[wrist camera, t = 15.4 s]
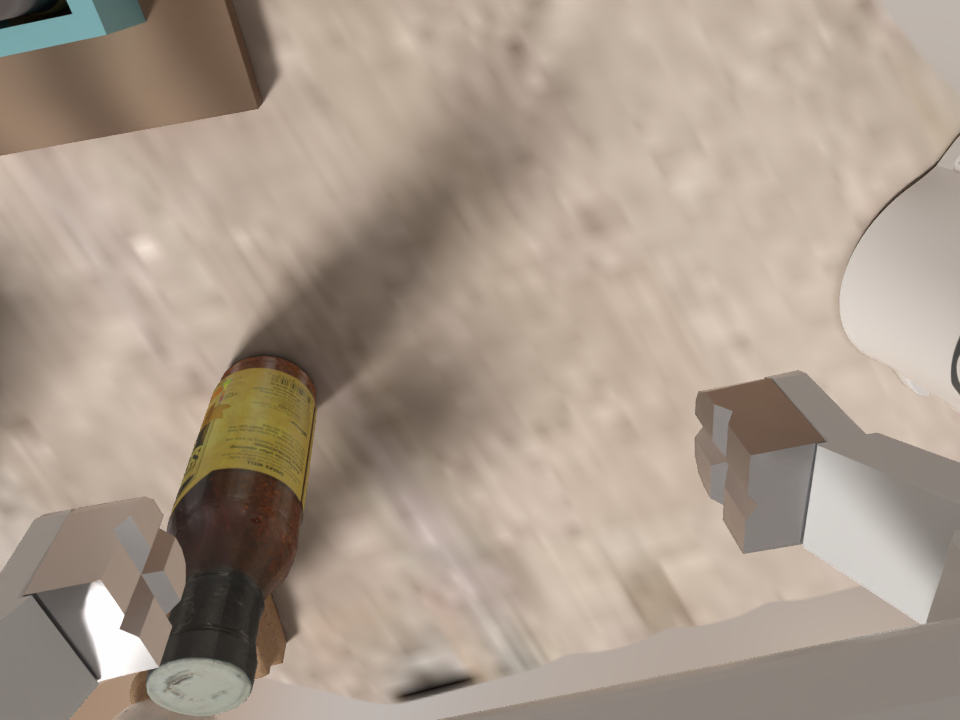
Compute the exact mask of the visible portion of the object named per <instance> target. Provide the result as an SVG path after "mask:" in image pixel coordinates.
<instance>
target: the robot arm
mask: <svg viewBox="0 0 960 720" xmlns="http://www.w3.org/2000/svg"><path fill="white" fill-rule="evenodd" d="M840 315H841V321H842V324H843V327H844V330H845V332H846V334H847V336H848V338H849V339H850V341H851V342H852V343H853V345H854V346H855V347H856V348H857V349H858V350H860V351H861V352H862V353H863V354H865V355H866V356H868V357H870V358H872V359H874V360H876V361H878V362H881V363H883V364H885V365H886V366H888V367H890V368H892V369H894V370H895V372H896V373H897V375H898V376H899V378H900V379H901V381H902V382H903V383H904V384H905V385H906V386H907V387H908V388H910V389H911V390H913V391H914V392H916V393H917V394H919V395H923V396H927V395H931V394H932V395H933V396H935V397H936V398H938V399H939V400H941V401H942V402H944V403H945V404H947V405H949V406H950V407H952V408H953V409H955V410H956V411H958V412H959V413H960V136H959V137H958V138H957V139H956V140H955V142H954V143H953V144H952V145H951V147H950V148H949V149H948V151H947V152H946V153H945V155H944V156H943V157H942V159H941V160H940V161H939V163H938V164H937V165H936V166H935V167H934V168H933V169H932V170H931V171H930V172H929V173H928V174H926V175H925V176H924V177H923V178H922V179H920V180H919V181H918V182H916V183H915V184H914V185H912V186H911V187H910V188H908V189H907V190H906V191H904V192H903V193H902V194H901V195H900V196H898V197H897V198H896V199H895V200H894V201H893V202H892V203H891V204H889V205H888V206H887V207H886V208H885V210H884V211H883V212H882V213H881V214H880V215H879V216H878V217H877V218H876V219H875V221H874V222H873V223H872V224H871V226H870V227H869V228H868V229H867V231H866V232H865V234H864V235H863V237H862V238H861V240H860V241H859V243H858V245H857V246H856V248H855V250H854V252H853V254H852V256H851V258H850V260H849V263H848V265H847V268H846V271H845V274H844V277H843V281H842V285H841V291H840ZM695 415H696V416H697V418H698V419H699V421H700V422H701V424H702V426H703V427H702V429H701V430H700V431H699V433H698V434H697V435H696V437H695V458H696V463H697V468H698V473H699V475H700V478H701V480H702V483H703V486H704V487H705V489H706V491H707V493H708V495H709V496H710V498H711V499H713V500H715V501H717V502H719V503H721V504H723V505H724V507H723V521H724V522H725V524H726V526H727V528H728V529H729V531H730V533H731V534H732V536H733V538H734V539H735V541H736V543H737V545H738V546H739V548H740V550H741V551H742V553H743V554H746V553H752V552H758V551H764V550H770V549H776V548H782V547H788V546H794V545H800V544H803V548H805V549H807V550H808V551H810V552H811V553H813V554H814V555H816V556H817V557H819V558H820V559H822V560H823V561H825V562H826V563H828V564H829V565H831V566H833V567H834V568H836V569H837V570H839V571H840V572H842V573H843V574H845V575H846V576H848V577H849V578H851V579H852V580H854V581H856V582H857V583H859V584H860V585H862V586H863V587H865V588H866V589H868V590H869V591H871V592H872V593H874V594H876V595H877V596H879V597H880V598H882V599H883V600H885V601H886V602H888V603H890V604H891V605H892V606H894V607H895V608H897V609H899V610H900V611H901V612H903V613H905V614H906V615H908V616H909V617H911V618H912V619H914V620H915V621H917V622H918V623H920V624H921V625H917V626H912V627H907V628H902V629H897V630H891V631H886V632H881V633H876V634H871V635H866V636H861V637H856V638H850V639H846V640H840V641H836V642H831V643H825V644H820V645H815V646H810V647H805V648H800V649H794V650H789V651H784V652H779V653H774V654H769V655H764V656H759V657H754V658H749V659H744V660H738V661H734V662H728V663H724V664H718V665H713V666H708V667H703V668H698V669H693V670H688V671H683V672H677V673H672V674H667V675H662V676H657V677H652V678H647V679H642V680H637V681H632V682H627V683H622V684H617V685H611V686H607V687H601V688H597V689H591V690H586V691H581V692H576V693H571V694H566V695H561V696H556V697H551V698H546V699H540V700H535V701H530V702H525V703H521V704H515V705H510V706H505V707H500V708H495V709H490V710H485V711H480V712H474V713H469V714H464V715H459V716H454V717H449V718H444V719H439V720H960V463H959V462H956V461H953V460H950V459H948V458H945V457H942V456H940V455H937V454H934V453H931V452H929V451H926V450H923V449H920V448H918V447H915V446H912V445H909V444H907V443H904V442H901V441H898V440H896V439H893V438H890V437H888V436H885V435H882V434H879V433H873V434H866V433H865V432H864V431H863V430H862V429H861V428H860V427H859V426H858V425H857V424H856V423H855V422H854V421H853V420H852V419H851V418H850V417H849V416H848V415H847V414H846V413H845V412H844V411H843V410H842V409H841V408H840V407H839V406H838V405H837V404H836V403H835V402H834V401H833V400H832V399H831V398H830V397H829V396H828V395H827V394H826V393H825V392H824V391H823V390H822V389H821V388H820V387H819V386H818V385H817V384H816V383H815V382H814V381H813V380H812V379H811V378H810V377H809V376H808V375H807V374H806V373H804V372H802V371H799V370H797V371H792V372H788V373H783V374H779V375H774V376H769V377H765V378H764V379H760V380H755V381H750V382H745V383H740V384H735V385H729V386H724V387H719V388H714V389H709V390H704V391H699V392H698V395H697V398H696V406H695ZM163 516H164V515H163V514H162V512H161V511H160V509H159V507H158V506H157V504H156V502H155V501H154V499H151V498H147V497H139V498H133V499H127V500H121V501H115V502H109V503H103V504H98V505H92V506H86V507H80V508H77V509H70V510H64V511H59V512H53V513H48V514H44V515H42V516H40V517H39V518H37V519H35V520H34V521H33V523H32V524H31V526H30V527H29V529H28V531H27V532H26V534H25V535H24V537H23V539H22V540H21V542H20V543H19V545H18V547H17V548H16V550H15V551H14V553H13V554H12V556H11V558H10V559H9V561H8V562H7V564H6V566H5V567H4V569H3V570H2V572H1V574H0V720H69V719H70V718H71V717H72V715H73V714H74V713H75V712H76V711H77V710H78V708H79V707H80V706H81V705H82V704H83V702H84V701H85V700H86V699H87V698H88V696H89V695H90V694H91V693H92V692H93V690H94V689H95V688H96V687H97V686H98V682H97V681H101V680H105V679H110V678H114V677H118V676H123V675H127V674H132V673H136V672H141V671H145V670H150V669H154V668H159V666H160V663H161V660H162V656H163V653H164V650H165V647H166V644H167V641H168V638H169V635H170V632H171V629H172V625H171V623H170V622H169V620H168V618H167V617H166V615H167V614H168V613H169V612H170V611H171V610H172V609H173V608H174V607H175V606H176V605H177V604H178V602H179V601H180V600H181V597H182V594H183V591H184V587H185V584H186V563H185V559H184V555H183V552H182V549H181V547H180V545H179V543H178V541H177V539H176V537H174V536H172V535H171V534H169V533H167V532H165V531H163V530H161V529H159V527H160V524H161V522H162V519H163Z"/></svg>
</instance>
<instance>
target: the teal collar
mask: <svg viewBox="0 0 960 720" xmlns="http://www.w3.org/2000/svg"><path fill="white" fill-rule="evenodd" d="M67 3H68V5H69V7H70V9H71V12H72V14H67V15H63V16H58V17H53V18H48V19H44V20H39V21H34V22H29V23H25V24H20V25H15V26H11V25H10V23H9V21H8V19H5V20H0V57H3V56H8V55H13V54H18V53H22V52H27V51H32V50H37V49H41V48H46V47H51V46H56V45H60V44H65V43H70V42H75V41H79V40H84V39H89V38H94V37H98V36H103V35H108V34H111V33H114V32H117V31H120V30H123V29H126V28H129V27H132V26H135V25H139V24H142V23H145V22H146V20H145V18H144V15H143V13H142V10H141V8H140V5H139V3H138V0H67Z"/></svg>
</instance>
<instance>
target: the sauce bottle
mask: <svg viewBox="0 0 960 720" xmlns="http://www.w3.org/2000/svg"><path fill="white" fill-rule="evenodd" d="M315 403H316V390H315V387H314V385H313V383H312V381H311V379H310V378H309V377H308V376H307V374H306V373H305V372H303V371H302V370H301V369H300V368H299V367H298V366H297V365H295V364H293V363H292V362H290V361H288V360H285V359H282V358H280V357H272V356H266V355H263V356H254V357H250V358H246V359H244V360H241V361H239V362H237V363H236V364H235V365H233V366H232V367H231V368H230V369H228V370H227V371H226V372H225V373H224V375H223V377H222V378H221V381H220V383H219V384H218V385H217V387H216V389H215V390H214V392H213V395H212V398H211V400H210V403H209V406H208V409H207V412H206V415H205V417H204V420H203V423H202V426H201V429H200V432H199V435H198V438H197V440H196V443H195V445H194V449H193V452H192V455H191V457H190V459H189V463H188V466H187V469H186V472H185V474H184V478H183V480H182V483H181V487H180V489H179V492H178V494H177V497H176V501H175V503H174V506H173V509H172V512H171V516H170V519H169V522H168V526H167V533H169V534H171V535H172V536H174V537H176V539H177V541H178V543H179V545H180V547H181V549H182V552H183V555H184V559H185V563H186V584H185V587H184V591H183V594H182V597H181V600H180V601H179V602H178V604H177V605H176V606H175V607H174V608H173V609H172V610H171V611H170V614H169V618H168V620H169V622H170V623H171V625H172V629H171V632H170V635H169V638H168V641H167V644H166V647H165V650H164V653H163V656H162V660H161V663H160V666H159V668H154V669H150V670H148V673H147V677H146V688H147V693H148V695H149V697H150V698H151V699H152V700H153V701H154V702H155V703H156V704H158V705H160V706H161V707H164V708H166V709H168V710H170V711H173V712H177V713H181V714H186V715H192V716H211V715H216V714H221V713H224V712H227V711H229V710H232V709H234V708H236V707H238V706H239V705H240V704H241V703H243V702H245V701H246V700H247V698H248V697H249V695H250V693H251V691H252V687H253V683H254V679H255V673H256V669H257V663H258V661H257V650H256V640H257V634H258V628H259V621H260V617H261V616H262V613H263V611H264V608H265V603H264V601H265V600H266V598H267V596H268V595H269V594H270V593H271V592H273V591H274V590H275V589H276V588H277V587H278V586H279V585H280V584H281V583H282V582H283V581H284V579H285V578H286V577H287V575H288V573H289V570H290V568H291V566H292V564H293V562H294V558H295V555H296V551H297V542H298V534H299V527H300V525H301V523H302V520H303V515H304V506H305V499H306V492H307V484H308V476H309V469H310V461H311V453H312V445H313V437H314V429H315V422H316V414H317V406H316V405H315Z"/></svg>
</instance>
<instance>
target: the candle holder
mask: <svg viewBox="0 0 960 720" xmlns="http://www.w3.org/2000/svg"><path fill="white" fill-rule="evenodd" d="M264 603H265V608H264V611H263V613H262V616H261V617H260V621H259V628H258V634H257V640H256V650H257V661H258V663H257V669H256V673H255V679H257V678H262V677H264V676H266V675H268V674H269V671H270V667H271V665H277V664H280V663H283V659H284V653H285V647H286V637H285V633H284V629H283V626H282V623H281V621H280V618H279V615H278V612H277V609H276V606H275V603H274V600H273V597H272V595H271V593H270V594H269V595H268V596H267V598H266V600H265V601H264ZM169 614H170V612H169V613H168V614H167V615H166V617H167V618H169ZM147 673H148V670H145V671H141V672H136V673H135V675H136V677H135V679H134V680H133V682H132V685H131V689H130V701H131V704H132V705H131V706H129V707H128V708H126V709H124V710H123V711H122V712H121V713H119V714H118V715H117V716H116V717H115V718H114V719H113V720H218V719H217V718H216V717H215V715H211V716H192V715H186V714H181V713H177V712H173V711H170V710H168V709H166V708H164V707H161V706H160V705H158V704H156V703H155V702H154V701H153V700H152V699H151V698H150V697H149V695H148V693H147V688H146V677H147Z"/></svg>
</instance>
